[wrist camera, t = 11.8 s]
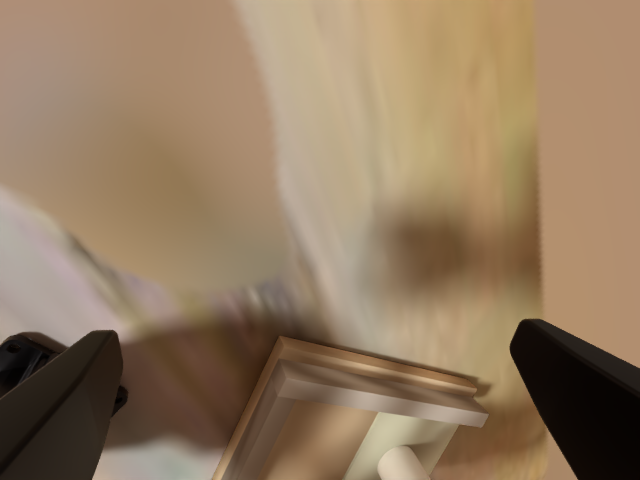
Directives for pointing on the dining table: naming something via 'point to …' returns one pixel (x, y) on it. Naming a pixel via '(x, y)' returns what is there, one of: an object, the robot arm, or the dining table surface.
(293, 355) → the rail board
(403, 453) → the beige tall round piece
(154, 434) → the dining table surface
